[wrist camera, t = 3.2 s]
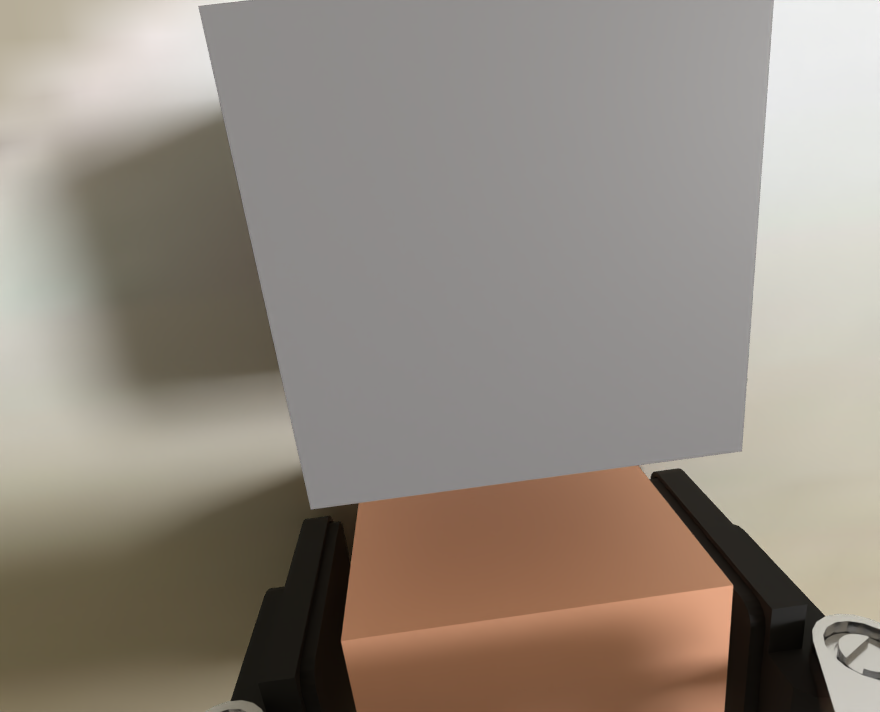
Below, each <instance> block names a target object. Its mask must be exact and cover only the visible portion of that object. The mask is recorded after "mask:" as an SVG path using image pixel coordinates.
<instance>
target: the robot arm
mask: <svg viewBox="0 0 880 712" xmlns="http://www.w3.org/2000/svg"><path fill="white" fill-rule="evenodd" d="M649 480H650V481H651V483H652V484H653V485H654V486H655V488H656V489H657V490H658V491H659V493H660V494H661V495H662V496H663V498H664V499H665V500H666V501H667V503H668V504H669V505H670V506H671V508H672V509H673V510H674V511H675V513H676V514H677V515H678V516H679V518H680V519H681V520H682V521H683V523H684V524H685V525H686V526H687V528H688V529H689V530H690V531H691V533H692V534H693V535H694V537H695V538H696V539H697V540H698V542H699V543H700V544H701V545H702V547H703V548H704V549H705V550H706V552H707V553H708V554H709V555H710V557H711V558H712V559H713V560H714V562H715V563H716V564H717V565H718V567H719V568H720V569H721V570H722V572H723V573H724V574H725V575H726V577H727V578H728V579H729V580H730V582H731V583H732V584H733V596H732V611H731V625H730V639H729V653H728V667H727V681H726V695H725V710H724V712H880V623H879V622H876V621H874V620H871V619H868V618H864V617H860V616H856V615H846V614H835V615H830V616H824V614H823V613H822V612H821V611H820V610H819V609H818V608H817V607H816V606H815V605H814V604H813V603H812V602H811V601H810V600H809V599H808V598H807V596H806V595H805V594H804V593H803V592H802V591H801V590H800V589H799V588H798V587H797V586H796V585H795V584H794V583H793V582H792V581H791V580H790V578H789V577H788V576H787V575H786V574H785V573H784V572H783V571H782V570H781V569H780V568H779V567H778V566H777V565H776V564H775V563H774V562H773V560H772V559H771V558H770V557H769V556H768V555H767V554H766V553H765V552H764V551H763V550H762V549H761V548H760V547H759V546H758V545H757V544H756V542H755V541H754V540H753V539H752V538H751V537H750V536H749V535H748V534H747V533H746V532H745V531H744V530H743V529H742V528H741V527H739V526H737V525H734V524H732V523H731V522H730V521H729V519H728V518H727V517H726V516H725V515H724V514H723V513H722V512H721V511H720V510H719V509H718V508H717V507H716V505H715V504H714V503H713V502H712V501H711V500H710V499H709V498H708V497H707V496H706V495H705V494H704V493H703V492H702V490H701V489H700V488H699V487H698V486H697V485H696V484H695V483H694V482H693V481H692V480H691V479H690V478H689V476H688V475H687V474H686V473H685V472H684V471H683V470H681V469H671V470H664V471H656V472H653V473H652V475H651V479H649ZM350 566H351V564H350V559H349V554H348V549H347V544H346V539H345V535H344V530H343V525H342V523H341V521H340V522H333V519H332V517H331V516H325V517H318V518H311V519H305V520H304V521H303V524H302V527H301V531H300V534H299V538H298V542H297V545H296V549H295V552H294V556H293V559H292V563H291V566H290V570H289V574H288V577H287V581H286V584H285V587H278V588H271V589H269V590H268V591H267V592H266V594H265V596H264V599H263V602H262V605H261V609H260V612H259V615H258V618H257V621H256V624H255V627H254V630H253V633H252V636H251V640H250V643H249V646H248V649H247V652H246V655H245V658H244V661H243V664H242V667H241V671H240V674H239V677H238V680H237V683H236V686H235V689H234V692H233V695H232V698H231V701H228V702H225V703H222V704H219V705H217V706H214V707H212V708H211V709H209V710H207V711H206V712H357V711H356V707H355V702H354V698H353V693H352V689H351V684H350V680H349V675H348V671H347V666H346V662H345V657H344V653H343V648H342V644H341V636H342V629H343V621H344V613H345V605H346V597H347V590H348V582H349V574H350Z"/></svg>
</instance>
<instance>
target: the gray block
mask: <svg viewBox="0 0 880 712" xmlns="http://www.w3.org/2000/svg"><path fill="white" fill-rule="evenodd" d="M773 3H774V0H248V1H239V2H230V3H221V4H212V5H204V6H199V11H200V15H201V20H202V24H203V29H204V33H205V38H206V42H207V47H208V51H209V56H210V60H211V65H212V69H213V74H214V78H215V83H216V87H217V92H218V96H219V101H220V105H221V110H222V114H223V118H224V123H225V127H226V132H227V136H228V141H229V145H230V150H231V154H232V159H233V163H234V168H235V172H236V177H237V181H238V186H239V190H240V195H241V199H242V204H243V208H244V213H245V217H246V222H247V226H248V230H249V235H250V239H251V244H252V248H253V253H254V257H255V262H256V266H257V271H258V275H259V280H260V284H261V289H262V293H263V298H264V302H265V307H266V311H267V316H268V320H269V325H270V329H271V334H272V338H273V342H274V347H275V351H276V356H277V360H278V365H279V369H280V374H281V378H282V383H283V387H284V392H285V396H286V401H287V405H288V410H289V414H290V419H291V423H292V428H293V432H294V437H295V441H296V446H297V450H298V454H299V459H300V463H301V468H302V472H303V477H304V481H305V486H306V490H307V495H308V499H309V504H310V508H311V509H318V508H326V507H333V506H341V505H348V504H355V503H363V502H370V501H378V500H385V499H392V498H400V497H407V496H415V495H422V494H429V493H437V492H444V491H452V490H459V489H466V488H474V487H481V486H489V485H496V484H503V483H511V482H518V481H526V480H533V479H540V478H548V477H555V476H563V475H570V474H577V473H585V472H592V471H600V470H607V469H614V468H622V467H629V466H637V465H644V464H651V463H659V462H666V461H674V460H681V459H688V458H696V457H703V456H711V455H718V454H725V453H733V452H740V451H742V442H743V428H744V414H745V400H746V386H747V371H748V357H749V343H750V329H751V315H752V301H753V287H754V272H755V258H756V244H757V230H758V216H759V202H760V187H761V173H762V159H763V145H764V131H765V117H766V103H767V88H768V74H769V60H770V46H771V32H772V18H773Z"/></svg>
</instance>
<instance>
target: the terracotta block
mask: <svg viewBox="0 0 880 712" xmlns="http://www.w3.org/2000/svg"><path fill="white" fill-rule="evenodd" d="M732 596H733V584H732V583H731V582H730V580H729V579H728V578H727V577H726V575H725V574H724V573H723V572H722V570H721V569H720V568H719V567H718V565H717V564H716V563H715V562H714V560H713V559H712V558H711V557H710V555H709V554H708V553H707V552H706V550H705V549H704V548H703V547H702V545H701V544H700V543H699V542H698V540H697V539H696V538H695V537H694V535H693V534H692V533H691V531H690V530H689V529H688V528H687V526H686V525H685V524H684V523H683V521H682V520H681V519H680V518H679V516H678V515H677V514H676V513H675V511H674V510H673V509H672V508H671V506H670V505H669V504H668V503H667V501H666V500H665V499H664V498H663V496H662V495H661V494H660V493H659V491H658V490H657V489H656V488H655V486H654V485H653V484H652V483H651V481H650V480H649V479H648V478H647V476H646V475H645V474H644V472H643V471H642V470H641V469H640V467H639V466H638V465H637V466H629V467H622V468H614V469H607V470H600V471H592V472H585V473H577V474H570V475H563V476H555V477H548V478H540V479H533V480H526V481H518V482H511V483H503V484H496V485H489V486H481V487H474V488H466V489H459V490H452V491H444V492H437V493H429V494H422V495H415V496H407V497H400V498H392V499H385V500H378V501H370V502H363V503H359V504H358V512H357V520H356V527H355V535H354V543H353V551H352V558H351V566H350V574H349V582H348V590H347V597H346V605H345V613H344V621H343V629H342V636H341V644H342V648H343V653H344V657H345V662H346V666H347V671H348V675H349V680H350V684H351V689H352V693H353V698H354V702H355V707H356V711H357V712H724V710H725V695H726V681H727V667H728V653H729V639H730V625H731V611H732Z"/></svg>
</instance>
